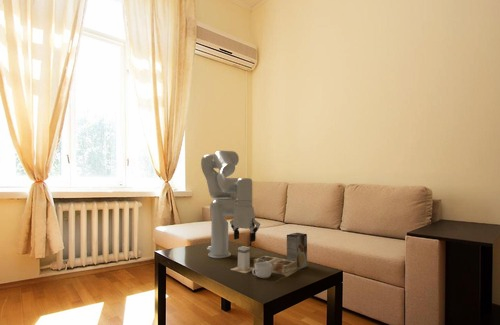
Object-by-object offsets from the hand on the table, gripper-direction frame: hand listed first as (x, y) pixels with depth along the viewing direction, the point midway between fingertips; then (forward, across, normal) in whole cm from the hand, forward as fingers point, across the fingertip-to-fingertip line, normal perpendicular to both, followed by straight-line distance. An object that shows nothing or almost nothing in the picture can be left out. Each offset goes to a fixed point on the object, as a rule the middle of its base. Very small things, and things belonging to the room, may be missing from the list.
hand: (244, 240), depth 138 cm
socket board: (+14, +11, +9) cm, 20 cm away
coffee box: (+15, +17, +20) cm, 30 cm away
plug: (+14, -1, 0) cm, 14 cm away
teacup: (+15, +12, -3) cm, 19 cm away
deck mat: (+14, -1, 0) cm, 14 cm away
